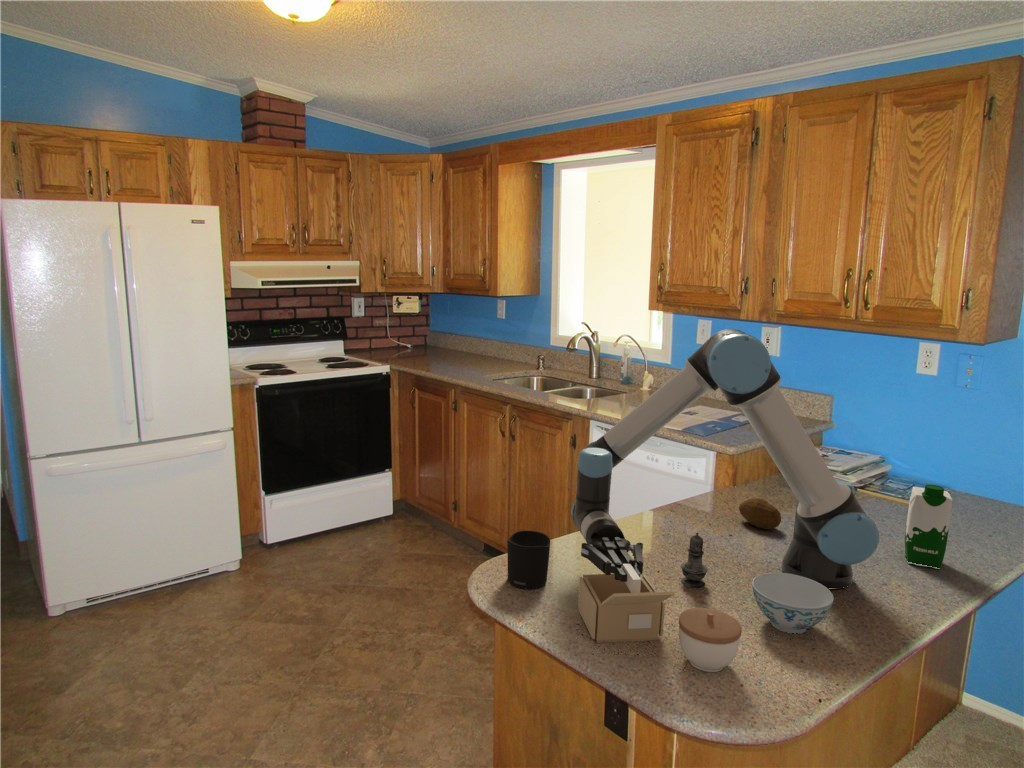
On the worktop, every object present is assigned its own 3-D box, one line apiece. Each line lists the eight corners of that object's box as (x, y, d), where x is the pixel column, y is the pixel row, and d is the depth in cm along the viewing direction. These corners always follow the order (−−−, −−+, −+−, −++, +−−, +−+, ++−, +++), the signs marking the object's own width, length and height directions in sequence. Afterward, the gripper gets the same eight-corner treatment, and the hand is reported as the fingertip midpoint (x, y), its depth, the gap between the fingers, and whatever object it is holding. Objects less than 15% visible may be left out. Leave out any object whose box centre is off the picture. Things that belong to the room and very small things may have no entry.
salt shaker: (692, 590, 149) (696, 538, 147) (674, 579, 155) (678, 529, 153) (712, 585, 152) (716, 534, 150) (693, 575, 157) (698, 525, 155)
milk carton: (903, 564, 167) (914, 486, 164) (900, 551, 175) (910, 477, 172) (945, 572, 164) (957, 492, 160) (940, 558, 172) (951, 482, 169)
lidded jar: (671, 671, 119) (675, 621, 117) (679, 641, 129) (683, 594, 127) (736, 686, 115) (741, 635, 113) (739, 654, 125) (743, 606, 123)
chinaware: (741, 604, 144) (744, 569, 143) (814, 610, 143) (818, 575, 141) (759, 641, 129) (763, 604, 128) (841, 648, 128) (845, 610, 127)
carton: (640, 607, 141) (643, 573, 140) (663, 641, 128) (666, 604, 127) (576, 609, 139) (578, 574, 138) (593, 644, 126) (595, 606, 125)
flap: (658, 600, 127) (674, 591, 120) (659, 603, 127) (674, 594, 120) (601, 602, 126) (613, 593, 118) (602, 605, 125) (614, 596, 118)
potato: (773, 536, 183) (776, 508, 182) (730, 523, 192) (732, 496, 190) (786, 528, 189) (788, 502, 187) (743, 516, 197) (746, 490, 196)
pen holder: (498, 576, 153) (500, 534, 151) (534, 568, 157) (536, 527, 156) (519, 594, 145) (521, 550, 143) (556, 585, 149) (558, 542, 148)
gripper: (631, 551, 145) (670, 605, 122) (571, 552, 143) (599, 607, 120) (633, 517, 144) (673, 566, 121) (573, 518, 142) (602, 567, 119)
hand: (636, 586), depth 120 cm, fingers closed
